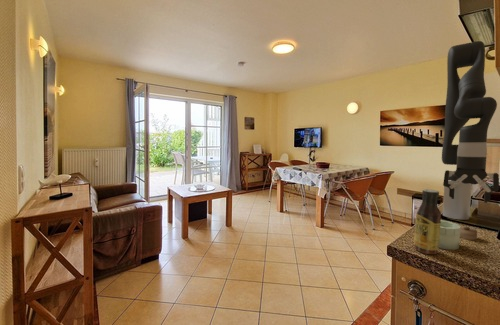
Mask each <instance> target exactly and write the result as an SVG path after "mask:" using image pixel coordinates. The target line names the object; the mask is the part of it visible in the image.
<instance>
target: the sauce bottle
mask: <svg viewBox="0 0 500 325" xmlns="http://www.w3.org/2000/svg"><path fill="white" fill-rule="evenodd" d="M439 196H440V191H438V190H435V189H429V188H427V189H423V190H422V199H421V200H422V201H421V204H420V206H419V208H418V209H417V211H416V214H415V227H414V237H413V238H414V239H413V243H414V245H413V246H414V249H415V250H416V251H418V252H420V253H422V254H425V255H436V254H438V252H439V251H438V250H439V248H438V246H439V236H440V225H441V222H440V220H442V219H441V218H442V213H441V210H440V209H439V207H438V199H439V198H438V197H439Z"/></svg>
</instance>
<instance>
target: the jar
mask: <svg viewBox="0 0 500 325" xmlns="http://www.w3.org/2000/svg"><path fill="white" fill-rule="evenodd" d="M440 222H441V225H440V236H439V246H438V249H443V250H449V251H454V250H455V251H456V250H458V249H459V248H460V239H461V238H460V227H461V225H460V224H457V223H455V222H452V221H448V220H443V219H441V220H440Z"/></svg>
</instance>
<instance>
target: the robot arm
mask: <svg viewBox="0 0 500 325" xmlns="http://www.w3.org/2000/svg"><path fill="white" fill-rule="evenodd" d="M446 60H447V61H446V62H447V67H446V68H447V69H446V71H447V76H446V78H447V85H446V86H447V88H446V99H445V112H444V113H445V114H444V133H443V134H444V135H443V141H442V149H441V162H442V163H443V164H444V165H449V166H451V165H452V166H456V167H455V168H456V169H455V170H453V171H452V170H447V169H446V170H445V171H444V176H443V182H442V186H443V199H442V200H443V203H442V216H443V217H446V218H449V219H454V220H459V221H460V220H462V221H464V220H467V221H468V220H470V214H471V200H472V199H471V197H472V185H477V184H479V185H480V186H481V187H482V189H483V190H484V194H483V195H484V198H483V203H484V204H486V203H488V202H490V201H491V195H492V193H493V192H498V191H499V190H500V180H499V179H500V178H499V177H500V174H499V173H497V172H493V173H492V172H491V173H490V172H489V173H488V172H487V171H486V168H487V155H488V145H487V140H488V129H489V126H490V124H491V121H492V118H493V116H494V115H495V113H496V110H497V108H498V102H497V101H496V99H495V98H494V97H491V96H486V94H487V89H486V88H487V87H486V82H485V65H486V63H485V62H486V46H485V43H484V42H483V41H481V40H478V41H476V40H475V41H470V42H467V43H462V44H457V45H453V46H450V48H449V49H448V52H447V59H446ZM467 67H470V68H469V70H467V71H466V72H465V73H464V74H463V75H462V76H461V77H460V75H459V72H458V69H460V68H467ZM472 119H479V121H478V122H477V123H475V124H470V125H466V124H467V123H468V122H470V121H469V120H472ZM458 133H459V134H458ZM457 134H458V135H459V136H458V137H459V138H458V144H453V141H454V139H455V138H456V136H457ZM487 177H489V179H490V180H492V187H489V185H487V184H486V183H485V182H484V180H485V179H486V178H487Z"/></svg>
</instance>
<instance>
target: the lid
mask: <svg viewBox="0 0 500 325" xmlns="http://www.w3.org/2000/svg"><path fill="white" fill-rule="evenodd" d="M460 239H464V240H467V241H477V239H478V231H477V230H476V229H474V228H471V227H470V226H460Z"/></svg>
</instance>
